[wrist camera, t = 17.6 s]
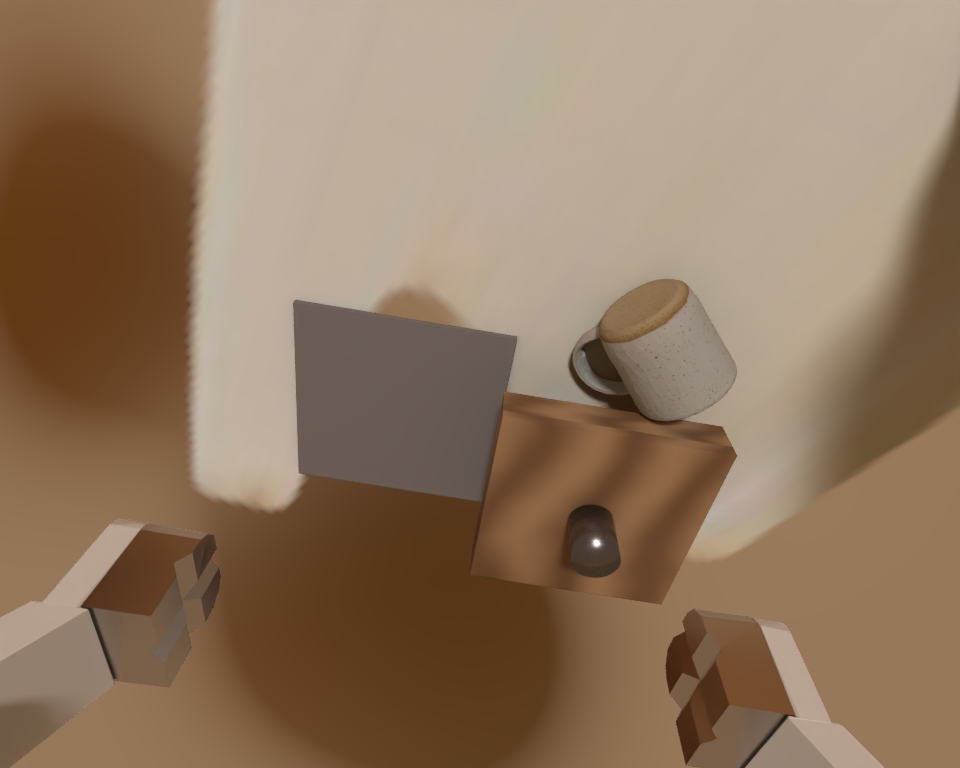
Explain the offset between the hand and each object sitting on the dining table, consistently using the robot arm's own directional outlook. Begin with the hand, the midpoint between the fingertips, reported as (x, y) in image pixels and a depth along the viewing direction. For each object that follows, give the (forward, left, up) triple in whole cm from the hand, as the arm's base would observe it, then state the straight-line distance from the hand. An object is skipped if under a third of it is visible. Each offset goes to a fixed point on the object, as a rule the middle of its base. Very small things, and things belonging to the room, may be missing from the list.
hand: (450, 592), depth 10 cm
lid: (-11, +23, -30) cm, 39 cm away
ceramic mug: (-13, +10, -34) cm, 38 cm away
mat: (+6, +21, -34) cm, 40 cm away
